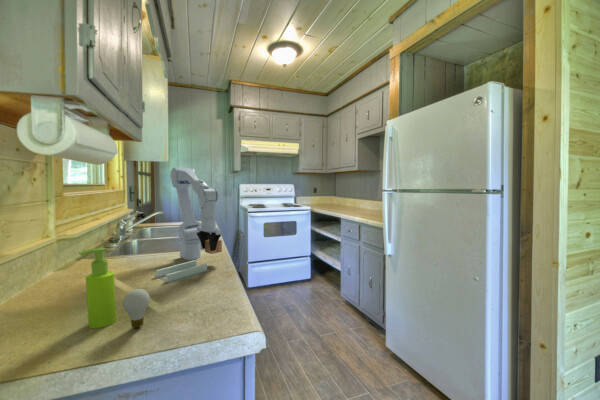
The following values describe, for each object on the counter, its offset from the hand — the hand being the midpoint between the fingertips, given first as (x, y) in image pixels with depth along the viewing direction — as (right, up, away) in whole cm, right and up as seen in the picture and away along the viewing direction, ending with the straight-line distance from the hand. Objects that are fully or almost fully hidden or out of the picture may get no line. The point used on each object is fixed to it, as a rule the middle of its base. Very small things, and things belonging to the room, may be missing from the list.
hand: (209, 249), depth 112 cm
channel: (-7, -9, -9) cm, 15 cm away
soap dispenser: (-14, -12, -42) cm, 46 cm away
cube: (0, +1, 0) cm, 1 cm away
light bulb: (-3, -12, -44) cm, 46 cm away
